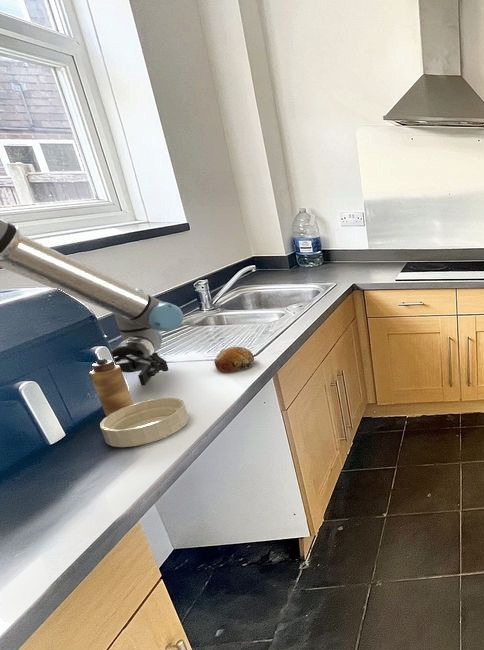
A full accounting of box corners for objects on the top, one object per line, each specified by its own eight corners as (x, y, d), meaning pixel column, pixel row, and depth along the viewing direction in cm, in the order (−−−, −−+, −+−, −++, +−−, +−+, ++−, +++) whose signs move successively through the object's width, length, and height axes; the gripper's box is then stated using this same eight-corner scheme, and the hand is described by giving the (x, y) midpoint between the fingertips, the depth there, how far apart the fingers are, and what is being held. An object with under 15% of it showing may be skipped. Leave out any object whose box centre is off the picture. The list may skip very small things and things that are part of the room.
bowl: (96, 456, 84) (88, 437, 82) (119, 423, 96) (113, 406, 94) (182, 438, 90) (177, 420, 88) (194, 409, 102) (189, 392, 100)
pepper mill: (103, 422, 96) (81, 365, 91) (111, 412, 100) (90, 357, 95) (132, 417, 98) (112, 360, 93) (138, 407, 103) (119, 353, 98)
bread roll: (255, 369, 132) (248, 345, 132) (258, 366, 124) (251, 340, 124) (218, 378, 126) (211, 353, 126) (219, 375, 118) (211, 348, 118)
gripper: (64, 349, 105) (19, 382, 87) (185, 334, 115) (167, 361, 98) (74, 376, 107) (33, 414, 89) (192, 359, 118) (176, 389, 100)
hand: (103, 386), depth 93 cm, fingers open, 13 cm apart
